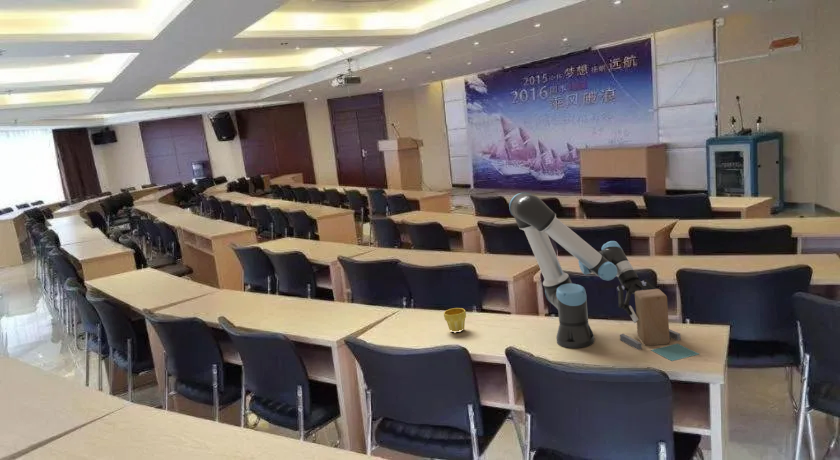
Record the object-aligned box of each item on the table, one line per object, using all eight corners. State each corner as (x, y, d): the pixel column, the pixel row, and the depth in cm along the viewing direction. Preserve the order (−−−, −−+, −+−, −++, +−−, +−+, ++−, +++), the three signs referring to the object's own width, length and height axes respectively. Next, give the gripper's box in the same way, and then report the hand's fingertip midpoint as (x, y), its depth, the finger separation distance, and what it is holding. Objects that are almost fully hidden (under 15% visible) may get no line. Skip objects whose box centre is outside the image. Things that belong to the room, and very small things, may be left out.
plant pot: (441, 333, 261) (439, 313, 260) (455, 326, 269) (452, 306, 267) (458, 336, 254) (456, 316, 253) (472, 328, 262) (469, 309, 260)
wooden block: (670, 344, 215) (667, 295, 212) (644, 346, 217) (640, 297, 214) (662, 335, 225) (659, 287, 222) (637, 337, 227) (633, 290, 223)
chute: (620, 340, 226) (619, 334, 225) (660, 330, 230) (660, 325, 229) (638, 349, 214) (638, 343, 214) (680, 339, 218) (680, 333, 218)
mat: (650, 350, 212) (650, 349, 212) (677, 343, 215) (677, 343, 215) (671, 361, 201) (671, 360, 201) (699, 354, 204) (699, 353, 204)
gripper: (647, 272, 240) (673, 315, 229) (596, 284, 234) (620, 328, 223) (654, 263, 234) (681, 306, 223) (603, 274, 228) (627, 320, 217)
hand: (651, 317), depth 223 cm, fingers open, 13 cm apart
